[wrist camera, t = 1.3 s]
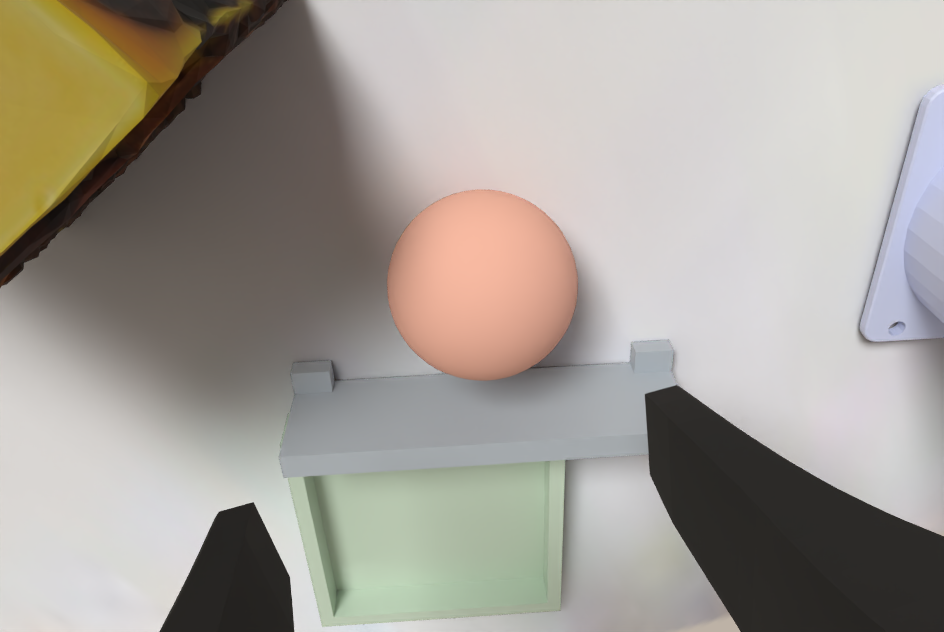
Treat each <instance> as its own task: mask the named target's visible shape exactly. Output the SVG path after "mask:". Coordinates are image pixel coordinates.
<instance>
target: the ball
mask: <svg viewBox="0 0 944 632" xmlns="http://www.w3.org/2000/svg"><path fill="white" fill-rule="evenodd" d="M387 290H388V301H389V306H390V310H391V313H392V316H393V319H394V322H395V324H396V326H397V328H398V330H399V332H400V334H401V335H402V337H403V339H404V340H405V341H406V343H407V344H408V345H409V347H410V348H411V349H412V350H413V351H414V352H415V353H416V354H417V355H418V356H419V357H421V358H422V359H423V360H424V361H425V362H427V363H428V364H429V365H431V366H433V367H434V368H436V369H438V370H440V371H442V372H444V373H446V374H449V375H452V376H455V377H459V378H463V379H468V380H478V381H488V380H497V379H502V378H507V377H510V376H513V375H516V374H518V373H521V372H523V371H525V370H527V369H529V368H530V367H532V366H534V365H535V364H537V363H538V362H540V361H541V360H542V359H543V358H545V357H546V356H547V355H548V354H549V353H550V352H551V351H552V350H553V349H554V348H555V346H556V345H557V344H558V343H559V341H560V340H561V338H562V337H563V335H564V334H565V332H566V330H567V329H568V326H569V324H570V322H571V319H572V316H573V314H574V310H575V306H576V301H577V293H578V275H577V270H576V265H575V260H574V256H573V254H572V251H571V248H570V246H569V244H568V242H567V240H566V239H565V237H564V235H563V233H562V232H561V230H560V229H559V227H558V226H557V225H556V224H555V223H554V222H553V221H552V219H551V218H550V217H549V216H548V215H547V214H546V213H545V212H543V211H542V210H541V209H539V208H538V207H537V206H535V205H534V204H532V203H530V202H528V201H527V200H525V199H522V198H520V197H517V196H515V195H512V194H509V193H505V192H501V191H495V190H470V191H464V192H460V193H456V194H452V195H450V196H447V197H445V198H442V199H441V200H439V201H437V202H435V203H433V204H432V205H430V206H429V207H427V208H426V209H425V210H423V211H422V212H421V213H420V214H418V215H417V216H416V217H415V218H414V219H413V220H412V221H411V223H410V224H409V225H408V226H407V227H406V229H405V230H404V232H403V234H402V235H401V237H400V239H399V240H398V242H397V244H396V246H395V249H394V251H393V253H392V257H391V261H390V265H389V269H388V277H387Z"/></svg>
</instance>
